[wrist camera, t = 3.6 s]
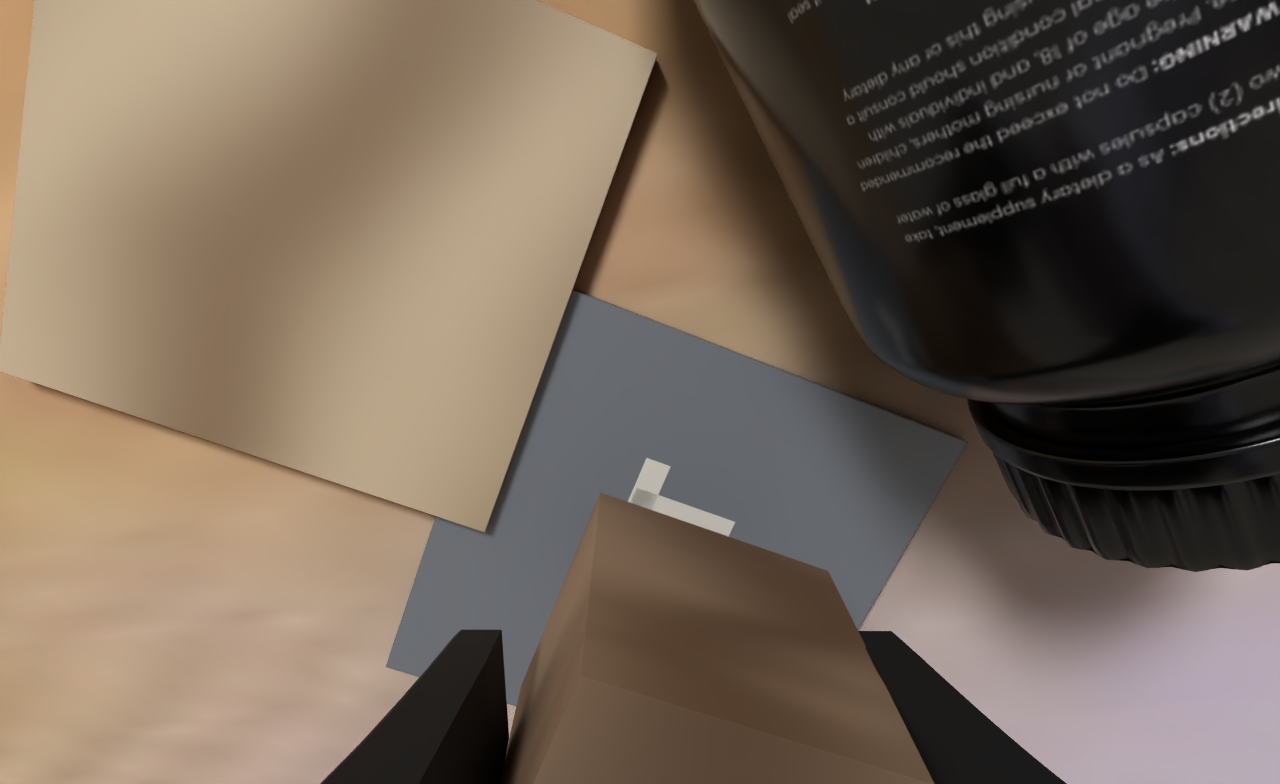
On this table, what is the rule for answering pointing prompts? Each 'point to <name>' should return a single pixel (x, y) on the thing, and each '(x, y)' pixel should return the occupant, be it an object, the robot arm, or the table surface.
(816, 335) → the table surface
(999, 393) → the supplement bottle
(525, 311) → the pad
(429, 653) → the tile
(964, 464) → the table surface
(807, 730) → the walnut block
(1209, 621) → the table surface
